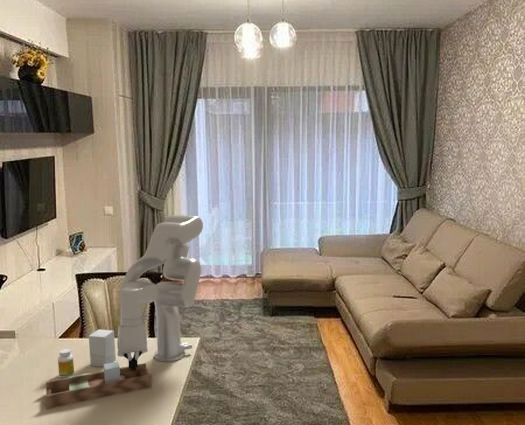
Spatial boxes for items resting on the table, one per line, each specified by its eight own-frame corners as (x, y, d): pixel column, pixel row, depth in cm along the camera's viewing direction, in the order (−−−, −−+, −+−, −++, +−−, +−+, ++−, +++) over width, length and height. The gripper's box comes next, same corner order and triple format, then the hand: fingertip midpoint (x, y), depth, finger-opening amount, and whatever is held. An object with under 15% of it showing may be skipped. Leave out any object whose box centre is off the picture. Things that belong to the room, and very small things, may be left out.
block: (118, 376, 177) (117, 361, 176) (120, 382, 173) (119, 367, 172) (104, 379, 175) (103, 364, 174) (106, 385, 171) (105, 369, 170)
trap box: (146, 374, 184) (145, 362, 184) (151, 387, 175) (151, 374, 174) (46, 393, 170) (45, 381, 170) (46, 409, 161) (45, 395, 160)
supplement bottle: (68, 378, 181) (67, 354, 180) (56, 377, 183) (54, 353, 181) (77, 372, 187) (75, 348, 185) (64, 371, 188) (62, 347, 186)
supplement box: (116, 359, 197) (114, 330, 196) (106, 367, 190) (104, 337, 188) (100, 357, 199) (98, 328, 197) (89, 365, 192) (88, 335, 190)
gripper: (150, 315, 180) (151, 362, 182) (109, 320, 174) (110, 368, 176) (154, 321, 174) (155, 369, 176) (111, 327, 168) (113, 377, 170)
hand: (133, 369), depth 176 cm, fingers closed
